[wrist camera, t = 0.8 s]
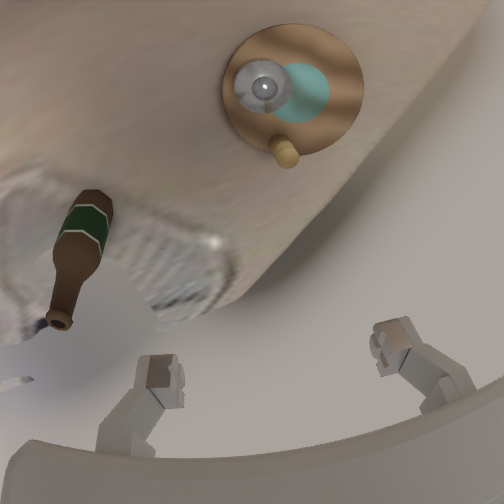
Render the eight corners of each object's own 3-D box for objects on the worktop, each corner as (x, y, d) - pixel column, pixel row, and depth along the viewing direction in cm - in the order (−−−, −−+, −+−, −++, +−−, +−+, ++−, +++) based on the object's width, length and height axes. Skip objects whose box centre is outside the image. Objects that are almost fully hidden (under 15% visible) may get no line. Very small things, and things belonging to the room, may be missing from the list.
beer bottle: (122, 215, 50) (98, 336, 33) (87, 228, 50) (57, 343, 33) (101, 180, 44) (59, 300, 27) (66, 196, 44) (19, 312, 28)
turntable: (246, 5, 28) (256, 3, 23) (376, 55, 34) (402, 65, 30) (206, 136, 41) (208, 157, 36) (327, 162, 47) (344, 185, 42)
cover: (241, 51, 31) (245, 55, 28) (293, 66, 33) (302, 72, 31) (226, 100, 36) (228, 109, 33) (276, 112, 38) (283, 121, 35)
